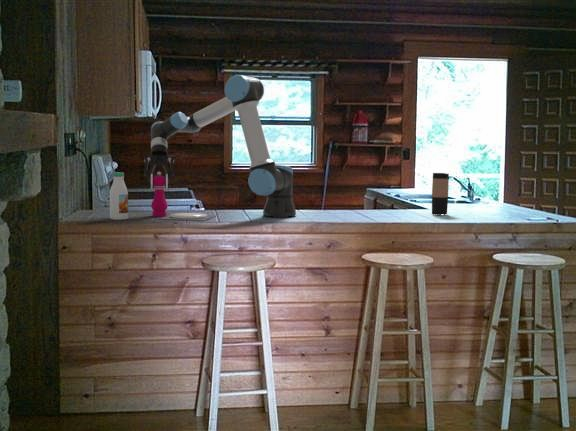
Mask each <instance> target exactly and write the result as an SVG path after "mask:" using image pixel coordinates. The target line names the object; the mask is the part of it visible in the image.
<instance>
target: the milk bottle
mask: <svg viewBox="0 0 576 431" xmlns="http://www.w3.org/2000/svg"><path fill="white" fill-rule="evenodd" d="M112 178H113V181H112V184H111V187H110V189H109V219H110V220H116V221H117V220H118V221H119V220H120V221H122V220H128V219H129V192H128V188H127V185H126V183H125V180H124V178H125V173H124V172H113V173H112Z"/></svg>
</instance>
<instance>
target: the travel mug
mask: <svg viewBox="0 0 576 431" xmlns="http://www.w3.org/2000/svg"><path fill="white" fill-rule="evenodd" d="M449 175H450V174H449V173H446V172H433V173H432V184H431V186H432V188H431V215H432V214H447V215H448V206H449V205H448V203H449V184H450V183H449V182H450V181H449V178H450V176H449Z"/></svg>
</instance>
